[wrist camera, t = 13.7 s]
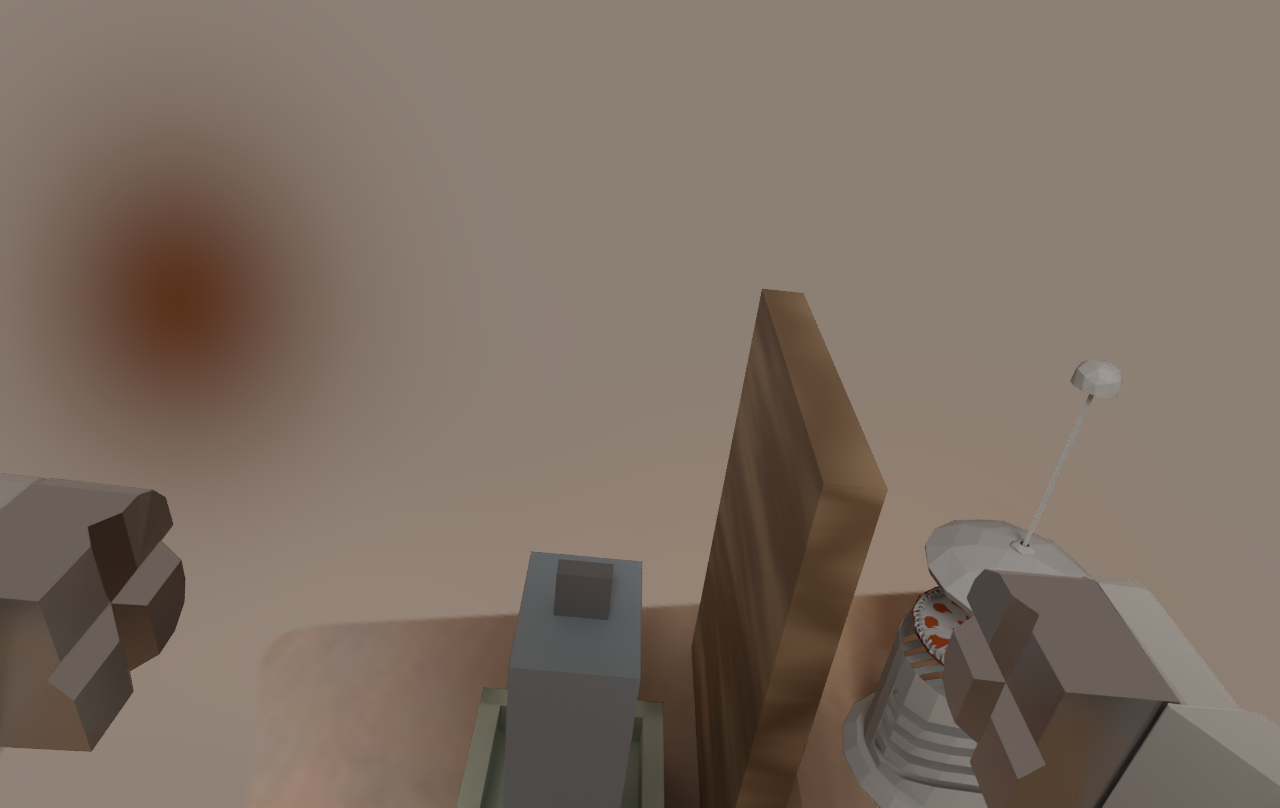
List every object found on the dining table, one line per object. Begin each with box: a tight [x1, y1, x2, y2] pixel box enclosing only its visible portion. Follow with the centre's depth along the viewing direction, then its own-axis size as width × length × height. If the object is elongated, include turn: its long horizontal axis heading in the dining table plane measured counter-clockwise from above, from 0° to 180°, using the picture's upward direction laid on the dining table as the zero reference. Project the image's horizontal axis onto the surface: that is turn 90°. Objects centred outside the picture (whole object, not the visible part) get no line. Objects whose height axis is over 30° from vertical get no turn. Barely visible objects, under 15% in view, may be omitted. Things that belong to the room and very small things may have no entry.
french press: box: [843, 360, 1123, 808], centre depth 39 cm, size 10×12×25 cm
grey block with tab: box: [503, 552, 642, 808], centre depth 33 cm, size 4×6×15 cm
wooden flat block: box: [692, 289, 888, 808], centre depth 38 cm, size 5×16×24 cm, turn 179°
